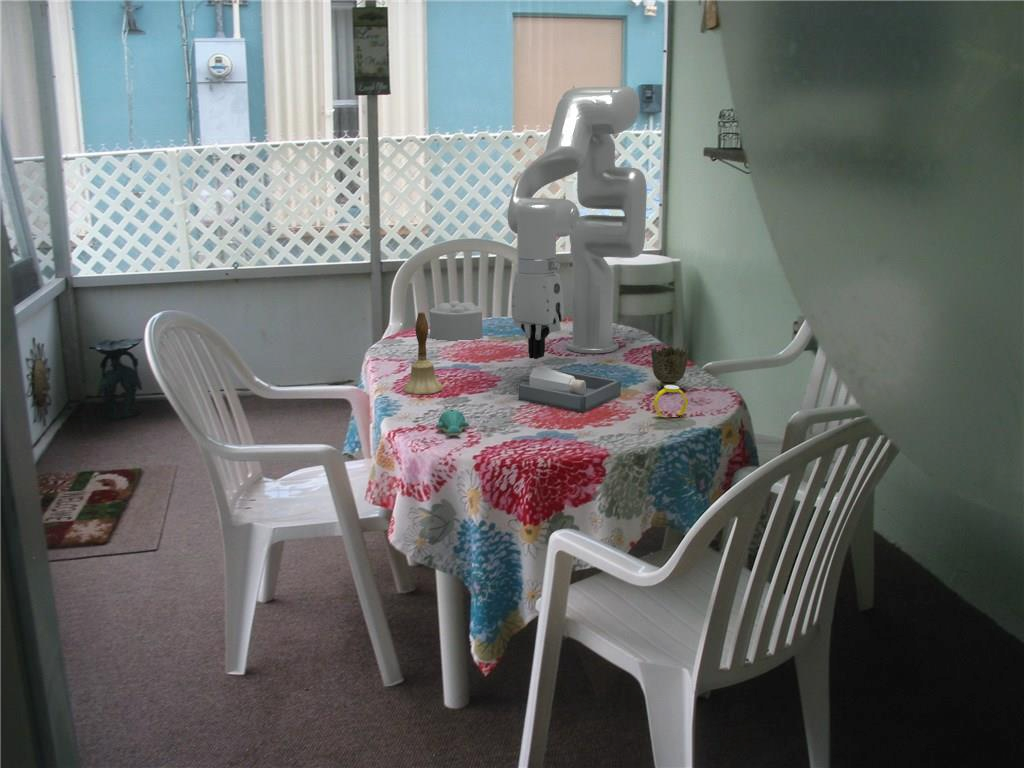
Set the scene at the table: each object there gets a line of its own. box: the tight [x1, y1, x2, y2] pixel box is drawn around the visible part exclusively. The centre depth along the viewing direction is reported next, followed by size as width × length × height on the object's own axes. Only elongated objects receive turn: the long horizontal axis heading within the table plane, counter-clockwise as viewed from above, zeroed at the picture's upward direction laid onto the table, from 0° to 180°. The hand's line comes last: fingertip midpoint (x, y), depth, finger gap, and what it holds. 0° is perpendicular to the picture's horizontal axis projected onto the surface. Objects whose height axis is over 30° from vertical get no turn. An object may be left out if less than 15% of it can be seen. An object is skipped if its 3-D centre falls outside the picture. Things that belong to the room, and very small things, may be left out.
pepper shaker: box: [528, 365, 586, 394], centre depth 187 cm, size 5×5×11 cm
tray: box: [518, 369, 622, 414], centre depth 185 cm, size 14×15×3 cm
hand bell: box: [402, 311, 445, 395], centre depth 190 cm, size 8×8×16 cm
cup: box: [650, 345, 689, 389], centre depth 190 cm, size 8×7×8 cm
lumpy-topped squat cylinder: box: [429, 300, 483, 342], centre depth 237 cm, size 10×13×9 cm
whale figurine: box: [435, 409, 470, 437], centre depth 165 cm, size 6×7×4 cm
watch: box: [653, 385, 688, 418], centre depth 172 cm, size 6×3×6 cm, turn 95°
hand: (536, 357), depth 188 cm, fingers closed
